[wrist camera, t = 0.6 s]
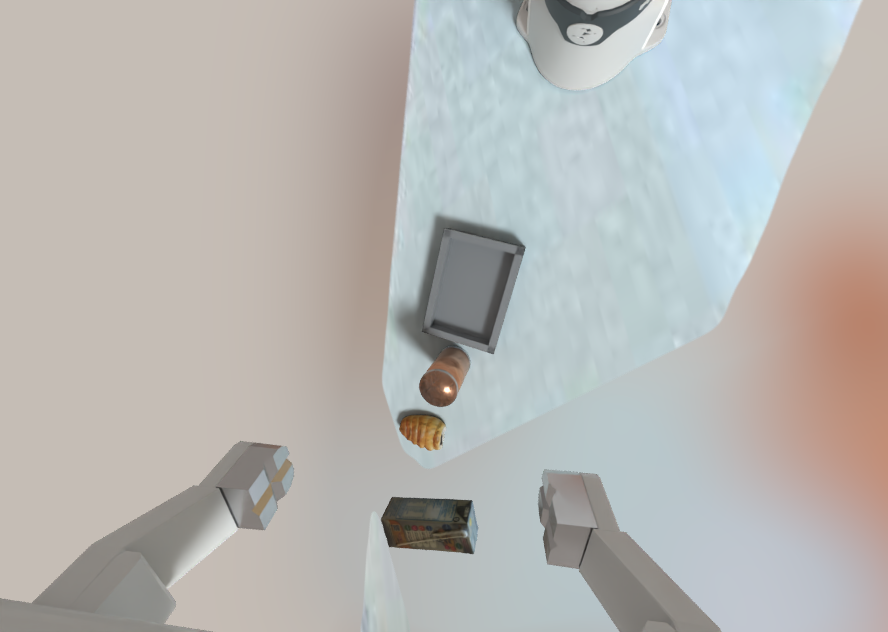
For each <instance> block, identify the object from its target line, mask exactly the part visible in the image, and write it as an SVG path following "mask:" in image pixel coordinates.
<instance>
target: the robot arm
mask: <svg viewBox="0 0 888 632" xmlns="http://www.w3.org/2000/svg"><path fill="white" fill-rule="evenodd" d="M671 3H672V0H523V2H522V5H521V7H520V10H519V12H518V15H517V21H516V26H517V29H518V31H519V32H520V34H521V35H522V36H523V37H524V38H525V39H526V41H527V42H528V43H529V45H530V48H531V52H532V55H533V59H534V62H535V64H536V66H537V68H538V70H539V71H540V73H541V74H542V75H543V76H544V77H545V78H546V79H547V80H548V81H549V82H550V83H552V84H553V85H555V86H557V87H560V88H563V89H567V90H586V89H591V88H594V87H597V86H599V85H602V84H604V83H606V82H607V81H609V80H611V79H612V78H613V77H615V76H616V75H617V74H619V73H620V72H621V71H622V70H623V69H624V68H625V67H626V66H627V65H628V64H629V63H630V62H631V61H632V60H633V59H635V58H636V57H637V56H639V55H641V54H643V53H645V52H647V51H649V50H651V49H653V48H655V47H656V46H658V45H659V44H660V43H661V42H662V40H663V38H664V36H665V34H666V30H667V25H668V19H669V14H670V8H671ZM527 9H528V12H527ZM658 22H659V25H658V26H656V25H657V23H658ZM288 455H289V451H288V449H287V447H286V446H277V445H270V444H261V443H252V442H243V441H240V442H238V443H237V444H235V445H234V446H233V447H232V448H231V450H230V451H229V452H228V453H227V454H226V455H225V456H224V457H223V459H222V460H221V461H220V462H219V463H218V464H217V465H216V466H215V467H214V469H213V470H212V471H211V472H210V473H209V474H208V475H207V477H206V478H205V479H204V480H203V481H202V482H201V483H200V485H199V486H192V487H190V488H189V489H187V490H185V491H183V492H182V493H180V494H178V495H176V496H175V497H173V498H171V499H170V500H168V501H166V502H164V503H163V504H161V505H159V506H157V507H156V508H154V509H152V510H150V511H149V512H147V513H145V514H143V515H142V516H140V517H138V518H137V519H135V520H133V521H132V522H130V523H128V524H126V525H124V526H123V527H121V528H119V529H118V530H116V531H114V532H112V533H111V534H109V535H107V536H105V537H104V538H102V539H100V540H98V541H97V542H95V543H94V544H92V545H91V546H90V547H89V548H88V549H87V550H86V551H85V552H84V553H83V554H82V555H81V556H80V557H78V558H77V559H76V560H75V561H74V562H73V563H72V564H71V565H70V566H69V567H68V568H67V569H66V570H65V571H64V572H63V573H62V574H61V575H60V576H59V577H58V578H57V579H56V580H55V581H54V582H53V583H52V584H51V585H50V586H49V587H48V588H47V589H46V590H45V591H44V592H43V593H42V594H41V595H40V596H38V597H37V598H36V599H35V600H34V601H33V602H32V603H26V602H20V601H13V600H7V599H1V598H0V632H210V631H204V630H198V629H192V628H186V627H178V626H173V625H166V624H164V623H165V622H166V621H167V619H168V617H169V616H170V615H171V613H172V612H173V610H174V609H175V607H176V601H175V600H174V598H173V597H172V595H171V594H170V593H169V591H168V590H167V589H168V588H170V587H171V586H172V585H173V584H174V583H175V582H177V581H178V580H179V579H180V578H181V577H183V576H184V575H185V574H186V573H187V572H188V571H190V570H191V569H192V568H193V567H194V566H196V565H197V564H198V563H199V562H200V561H201V560H203V559H204V558H205V557H206V556H207V555H209V554H210V553H211V552H212V551H213V550H215V548H217V547H218V546H219V545H220V544H222V543H223V542H224V541H225V540H226V539H228V538H229V537H230V536H231V535H232V534H233V533H235V532H236V531H237V530H238V528H246V529H258V530H265V529H266V527H267V526H268V524H269V522H270V521H271V519H272V517H273V516H274V513H275V512H276V511H277V509H278V506H277V501H278V500H279V499H281V498H282V497H283V496H285V495H286V494H287V492H288V490H289V488H290V487H291V484H292V480H293V477H294V468H293V464H292V463H291V462H290V461H289V460H288V459H287V457H288ZM542 482H543V486H542V487H540V490H539V503H538V505H539V516H540V522H541V524H542V525H543V526H544V527H545V532H544V536H543V541H544V547H545V553H546V559H547V564H549V565H556V566H562V567H569V568H576V569H579V572H580V573H581V574H582V576H583V578H584V579H585V581H586V582H587V583H588V585H589V586H590V588H591V589H592V591H593V592H594V594H595V595H596V597H597V598H598V600H599V601H600V603H601V604H602V606H603V607H604V609H605V610H606V612H607V613H608V615H609V616H610V618H611V619H612V621H613V622H614V624H615V625H616V627H617V628H618V630H619V631H620V632H721V630H720V628H719V627H718V626H717V625H716V624H715V623H714V622H713V621H712V620H711V619H710V618H709V617H708V616H707V615H706V614H705V613H704V612H703V611H702V610H701V609H700V608H699V607H698V606H697V605H696V604H695V603H694V602H693V601H692V600H691V599H690V598H689V596H688V595H687V594H685V592H683V590H682V589H681V588H680V587H679V586H678V585H677V584H676V583H675V582H674V581H673V580H672V579H671V578H670V577H669V576H668V575H667V574H666V573H665V572H664V571H663V570H662V569H661V568H660V567H659V566H658V565H657V564H656V563H655V562H654V561H653V560H652V558H651V557H649V555H648V554H647V553H646V552H645V551H643V549H642V548H641V547H640V546H639V545H638V544H637V543H636V542H635V541H634V540H633V539H632V538H631V537H630V536H629V535H628V534H627V533H626V532H621V531H620V530H619V527H618V524H617V522H616V519H615V516H614V514H613V511H612V508H611V506H610V503H609V500H608V498H607V495H606V492H605V490H604V487H603V484H602V482H601V479H600V477H599V476H598V475H597V474H590V473H578V472H571V471H557V470H544V471H543V474H542Z"/></svg>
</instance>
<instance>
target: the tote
mask: <svg viewBox="0 0 888 632" xmlns="http://www.w3.org/2000/svg"><path fill="white" fill-rule="evenodd" d="M525 248H526V247H522V246H518V245H514V244H510V243H506V242H502V241H498V240H494V239H490V238H486V237H482V236H478V235H474V234H469V233H465V232H461V231H457V230H453V229H449V228H444V232H443V237H442V241H441V246H440V251H439V255H438V260H437V264H436V269H435V274H434V278H433V283H432V287H431V292H430V297H429V301H428V306H427V311H426V315H425V320H424V324H423V329H422V332H425V333H428V334H431V335H434V336H437V337H440V338H444V339H447V340H450V341H453V342H456V343H460V344H463V345H466V346H469V347H472V348H475V349H479V350H482V351H485V352H488V353H491V354H494V351H495V348H496V345H497V341H498V338H499V335H500V331H501V328H502V325H503V321H504V318H505V315H506V311H507V308H508V305H509V301H510V298H511V295H512V291H513V288H514V285H515V281H516V278H517V275H518V271H519V268H520V265H521V261H522V258H523V255H524V251H525Z"/></svg>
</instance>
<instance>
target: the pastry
mask: <svg viewBox="0 0 888 632" xmlns="http://www.w3.org/2000/svg"><path fill="white" fill-rule="evenodd" d="M399 430H400V432H401V433H402V434H403V435H404V436H405V437H406V438H407V440H410V441H412V443H413V444H417V445H418V446H419V447H420V448H424V447H425V448H426V449H427V450H429V451H431V450H433V449H435V450H439V449H441V448H442V446H443V441H444V438H445V437H444V435H445V434H444V432H445V431H446V425H445V424H444V423H443V422H442V421H441V420H440V419H438V418H437V417H432V416H428V415H409V416H407V417H405V418H403V419H402V421H401V425H400V428H399Z"/></svg>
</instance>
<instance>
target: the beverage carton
mask: <svg viewBox="0 0 888 632" xmlns="http://www.w3.org/2000/svg"><path fill="white" fill-rule="evenodd" d="M381 521H382V524H383V528H384V532H385V535H386V538H387V541H388V545H389V547H397V548H410V549H425V550H438V551H449V552H461V553H469V554H474V551H475V544H476V540H477V531H478V526H477V521H476V517H475V511H474V506H473V501H472V500H453V499H427V498H400V497H392V498H391V500H390V502H389V504H388V506H387V508H386V510H385V512H384V514H383V517H382V518H381Z"/></svg>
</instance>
